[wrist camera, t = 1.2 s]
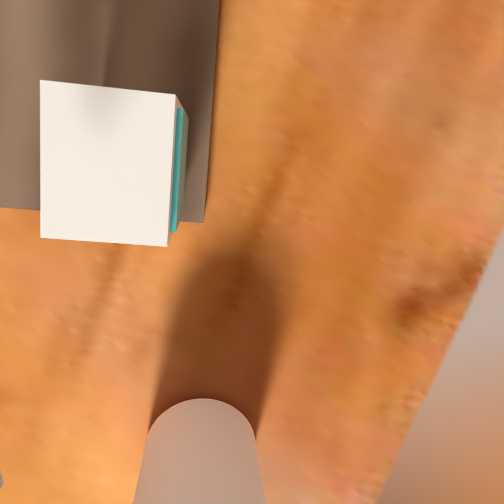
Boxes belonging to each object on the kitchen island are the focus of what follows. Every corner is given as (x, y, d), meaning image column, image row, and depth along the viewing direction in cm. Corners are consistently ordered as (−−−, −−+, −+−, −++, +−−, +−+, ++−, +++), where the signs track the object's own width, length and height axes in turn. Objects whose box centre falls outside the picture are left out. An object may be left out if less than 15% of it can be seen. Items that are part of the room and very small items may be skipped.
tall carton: (97, 206, 28) (40, 237, 18) (100, 104, 27) (39, 79, 17) (184, 213, 29) (173, 247, 19) (190, 114, 27) (182, 95, 18)
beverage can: (141, 398, 33) (107, 532, 22) (252, 388, 34) (276, 514, 22) (151, 493, 35) (124, 665, 23) (256, 482, 36) (280, 643, 24)
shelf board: (-50, 198, 29) (-81, 204, 26) (-69, -214, 24) (-109, -268, 21) (203, 218, 31) (203, 226, 28) (231, -162, 26) (234, -204, 23)
